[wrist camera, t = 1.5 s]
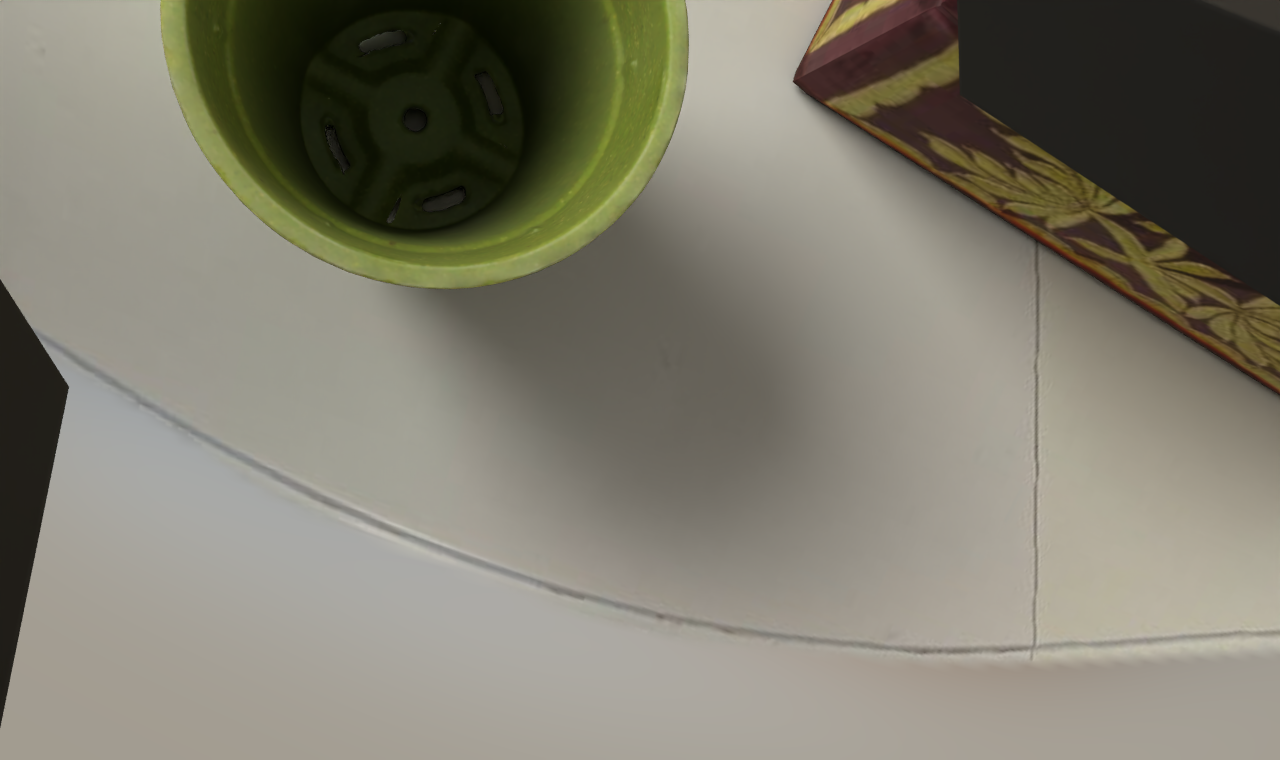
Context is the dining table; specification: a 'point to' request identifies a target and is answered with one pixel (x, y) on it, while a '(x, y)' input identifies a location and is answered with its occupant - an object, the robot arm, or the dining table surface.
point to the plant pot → (432, 123)
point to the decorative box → (1023, 174)
